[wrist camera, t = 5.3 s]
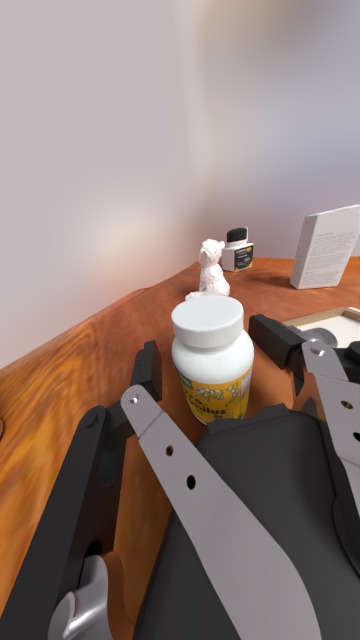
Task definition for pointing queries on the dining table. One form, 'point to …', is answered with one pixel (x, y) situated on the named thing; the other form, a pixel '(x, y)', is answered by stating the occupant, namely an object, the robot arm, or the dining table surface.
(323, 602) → the robot arm
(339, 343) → the coupling board
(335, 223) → the skincare box
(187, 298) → the white creature statuette
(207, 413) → the supplement bottle
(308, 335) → the shaft stubs
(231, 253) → the medicine bottle
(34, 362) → the dining table surface
